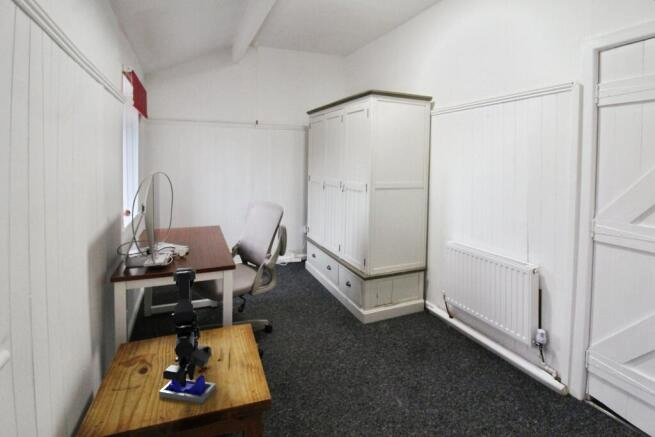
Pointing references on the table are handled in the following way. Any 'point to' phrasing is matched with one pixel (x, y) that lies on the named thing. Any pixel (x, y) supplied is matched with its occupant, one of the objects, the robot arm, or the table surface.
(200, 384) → the blue curved cradle
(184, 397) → the tray
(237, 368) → the table surface
